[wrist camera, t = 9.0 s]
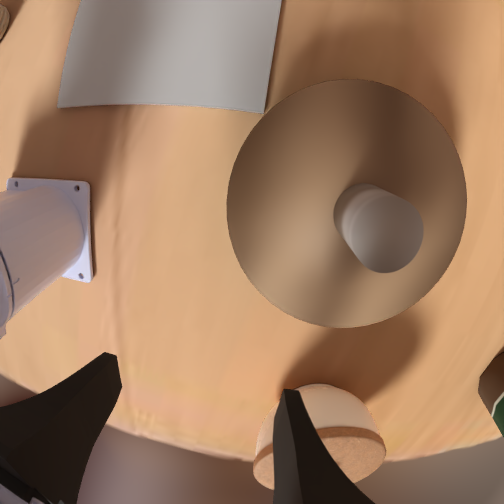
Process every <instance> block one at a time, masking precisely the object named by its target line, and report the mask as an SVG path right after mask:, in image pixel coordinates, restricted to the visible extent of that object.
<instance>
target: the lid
mask: <svg viewBox="0 0 504 504" xmlns="http://www.w3.org/2000/svg"><path fill="white" fill-rule="evenodd" d="M466 208H467V192H466V182H465V176H464V171H463V167H462V164H461V161H460V158H459V155H458V153H457V150H456V148H455V146H454V144H453V142H452V140H451V138H450V137H449V135H448V133H447V132H446V130H445V129H444V127H443V126H442V125H441V123H440V122H439V121H438V120H437V119H436V118H435V116H434V115H433V114H432V113H431V112H430V111H429V110H427V109H426V108H425V107H424V106H423V105H422V104H421V103H419V102H418V101H416V100H415V99H413V98H412V97H410V96H409V95H407V94H405V93H403V92H401V91H399V90H397V89H395V88H393V87H390V86H387V85H384V84H381V83H378V82H373V81H367V80H360V79H340V80H333V81H326V82H322V83H319V84H316V85H312V86H309V87H306V88H304V89H302V90H300V91H298V92H296V93H294V94H292V95H290V96H289V97H287V98H286V99H284V100H283V101H281V102H280V103H278V104H277V105H276V106H274V107H273V108H272V109H271V110H270V111H269V112H268V113H267V114H266V115H265V116H263V117H262V119H261V120H260V121H259V122H258V123H257V125H256V126H255V127H254V128H253V130H252V131H251V132H250V134H249V135H248V137H247V139H246V140H245V142H244V144H243V145H242V147H241V149H240V151H239V154H238V156H237V158H236V161H235V163H234V166H233V169H232V173H231V177H230V181H229V186H228V194H227V222H228V229H229V236H230V239H231V242H232V246H233V249H234V252H235V255H236V257H237V259H238V261H239V264H240V266H241V268H242V269H243V271H244V273H245V274H246V276H247V277H248V279H249V280H250V282H251V283H252V284H253V285H254V287H255V288H256V289H257V290H258V291H259V293H260V294H262V295H263V296H264V297H265V298H266V299H267V300H268V301H269V302H270V303H272V304H273V305H274V306H276V307H277V308H279V309H280V310H282V311H283V312H285V313H287V314H289V315H291V316H293V317H295V318H297V319H299V320H302V321H305V322H308V323H310V324H315V325H319V326H324V327H334V328H353V327H360V326H367V325H370V324H374V323H378V322H381V321H384V320H386V319H389V318H391V317H394V316H395V315H397V314H399V313H401V312H403V311H405V310H406V309H408V308H409V307H411V306H412V305H414V304H415V303H416V302H418V301H419V300H420V299H421V298H422V297H424V296H425V295H426V294H427V293H428V292H429V291H430V290H431V289H432V288H433V287H434V285H435V284H436V283H437V282H438V281H439V280H440V278H441V277H442V275H443V274H444V273H445V271H446V270H447V268H448V266H449V265H450V263H451V261H452V259H453V257H454V255H455V253H456V250H457V248H458V246H459V243H460V240H461V237H462V233H463V230H464V224H465V218H466Z"/></svg>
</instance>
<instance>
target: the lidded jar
mask: <svg viewBox="0 0 504 504" xmlns="http://www.w3.org/2000/svg"><path fill="white" fill-rule="evenodd" d="M294 390H298V391H299V392H300V394H301V397H302V399H303V402H304V405H305V407H306V410H307V412H308V414H309V416H310V419H311V421H312V423H313V425H314V427H315V429H316V431H317V433H318V435H319V436H320V438H321V440H322V442H323V443H324V445H325V447H326V448H327V450H328V452H329V453H330V455H331V456H332V458H333V459H334V460H335V462H336V463H337V464H338V466H339V467H340V468H341V470H342V471H343V472H344V473H345V475H346V476H347V477H348V478H349V479H350V480H351V481H352V482H353V483H355V482H357V481H359V480H361V479H363V478H365V477H366V476H368V475H370V474H371V473H372V472H374V471H375V470H376V469H377V468H378V467H379V466H380V465H381V463H382V462H383V460H384V458H385V456H386V448H385V445H384V442H383V439H382V438H381V437H380V433H379V430H378V427H377V425H376V422H375V420H374V418H373V416H372V414H371V413H370V411H369V410H368V408H367V407H366V406H365V404H364V403H363V402H362V401H361V400H360V399H358V398H357V397H356V396H355V395H353V394H351V393H349V392H347V391H345V390H342V389H339V388H336V387H334V386H332V385H328V384H321V383H319V384H309V385H304V386H301V387H299V388H296V389H294ZM279 402H280V401H278V402H277V403H276V404H275V405H274V406H273V407H272V408H271V409H270V411H269V412H268V413H267V415H266V417H265V418H264V420H263V422H262V425H261V428H260V431H259V434H258V438H257V444H256V457H255V460H254V467H253V473H254V476H255V478H256V479H257V480H258V482H260V483H261V484H262V485H264V486H266V487H268V488H270V489H273V490H274V463H273V425H274V416H275V414H276V411H277V408H278V405H279Z"/></svg>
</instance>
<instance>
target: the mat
mask: <svg viewBox="0 0 504 504" xmlns="http://www.w3.org/2000/svg"><path fill="white" fill-rule="evenodd" d="M281 2H282V0H81V2H80V5H79V8H78V11H77V15H76V18H75V21H74V25H73V29H72V32H71V36H70V40H69V44H68V48H67V53H66V57H65V62H64V67H63V72H62V78H61V84H60V90H59V97H58V104H57V108H68V107H81V106H98V105H176V106H193V107H207V108H218V109H228V110H237V111H246V112H253V113H261V114H264V109H265V102H266V96H267V89H268V83H269V77H270V70H271V64H272V58H273V51H274V45H275V39H276V33H277V27H278V20H279V14H280V8H281Z"/></svg>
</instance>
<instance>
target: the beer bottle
mask: <svg viewBox="0 0 504 504" xmlns="http://www.w3.org/2000/svg"><path fill="white" fill-rule="evenodd" d="M478 393H479V395H480V397H481V399H482V401H483V403H484V404H485V406H486V408H487V409H488V411H489V413H490V414H491V416H492V418H493V419H494V421H495V423H496V425H497V426H498V428H499V430H500V432H501V434H502V435H503V437H504V352H503V353H501V354H500V355H498V356H497V357H496V358H494V359H493V360H492V362H491V363H490V364H489V366H488V367H487V368H486V370H485V371H484V372H483V374H482V375H481V376H480V380H479V388H478Z"/></svg>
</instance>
